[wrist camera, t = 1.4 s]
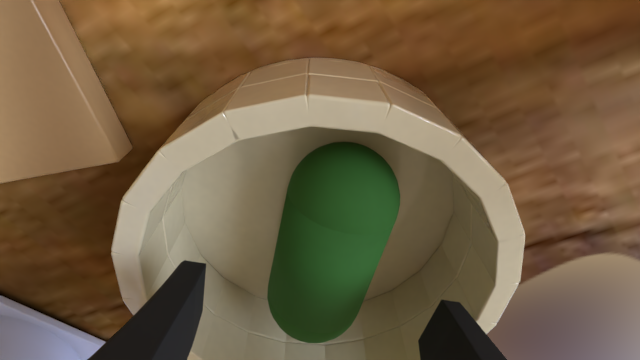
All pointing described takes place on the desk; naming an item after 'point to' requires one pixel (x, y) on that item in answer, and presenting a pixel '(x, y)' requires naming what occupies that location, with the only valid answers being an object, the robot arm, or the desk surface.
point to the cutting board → (50, 97)
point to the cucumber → (331, 239)
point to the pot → (269, 198)
